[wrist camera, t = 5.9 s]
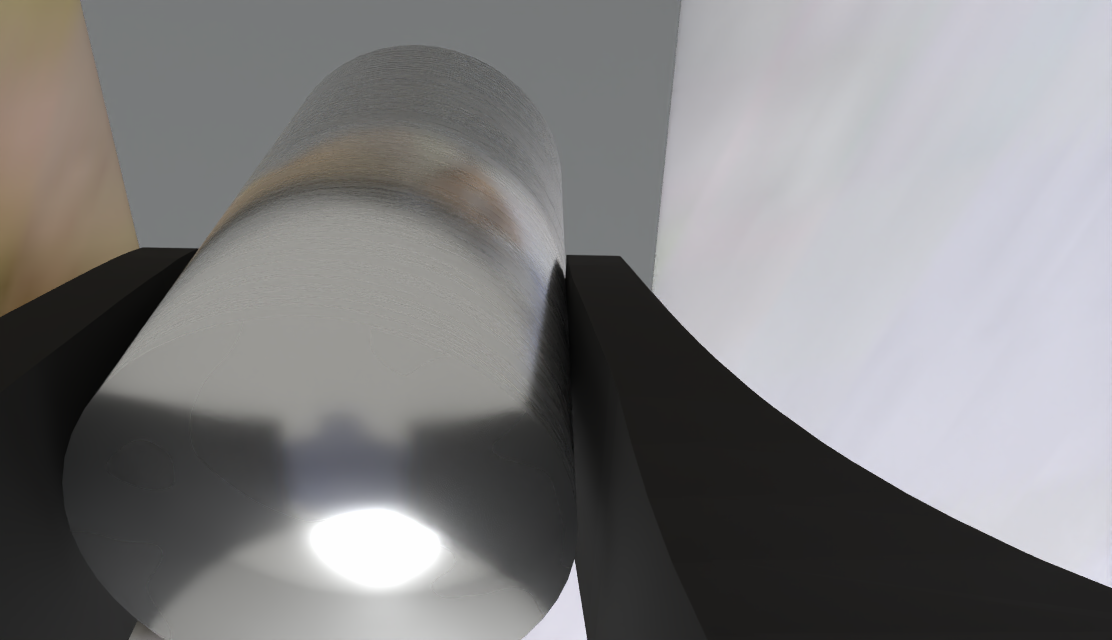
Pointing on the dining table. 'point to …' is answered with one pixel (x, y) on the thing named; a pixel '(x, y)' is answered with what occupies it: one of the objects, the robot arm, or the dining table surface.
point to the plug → (352, 382)
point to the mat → (361, 27)
